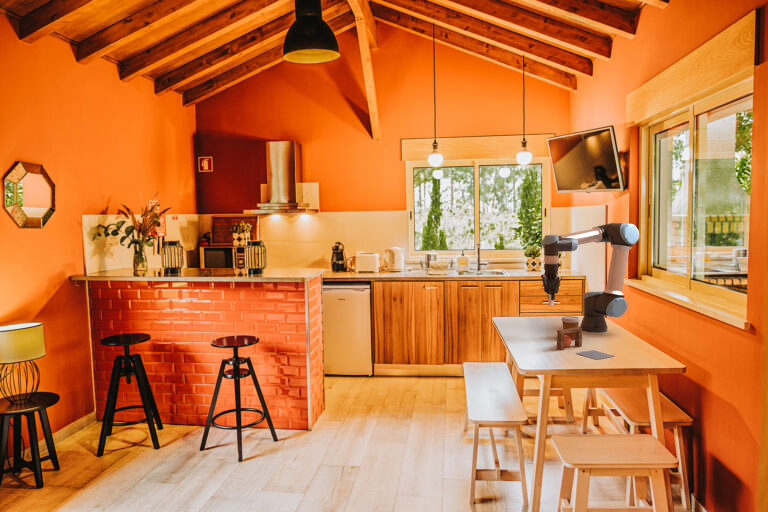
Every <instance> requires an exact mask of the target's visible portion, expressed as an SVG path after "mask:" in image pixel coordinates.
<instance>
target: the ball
mask: <svg viewBox="0 0 768 512" xmlns="http://www.w3.org/2000/svg"><path fill="white" fill-rule="evenodd" d="M572 342H573V340H571V338H570V337H569V336H567V335H564V348H568V347H570V346H571V344H572Z"/></svg>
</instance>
